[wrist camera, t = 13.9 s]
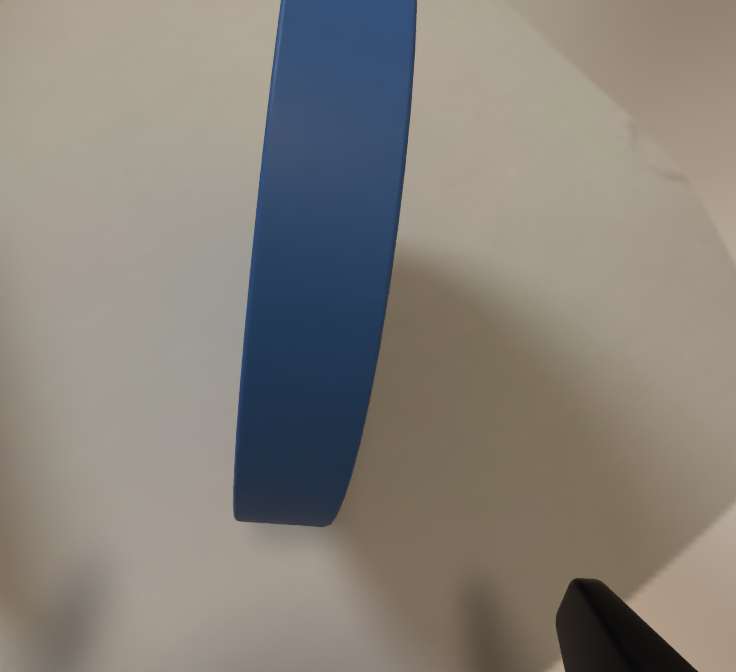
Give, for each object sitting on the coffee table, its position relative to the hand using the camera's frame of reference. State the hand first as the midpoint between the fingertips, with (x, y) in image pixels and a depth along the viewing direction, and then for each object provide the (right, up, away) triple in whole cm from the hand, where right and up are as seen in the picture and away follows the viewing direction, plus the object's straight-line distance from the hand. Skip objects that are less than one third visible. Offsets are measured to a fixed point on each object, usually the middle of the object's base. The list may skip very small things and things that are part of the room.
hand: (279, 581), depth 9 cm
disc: (-1, +3, +8) cm, 9 cm away
